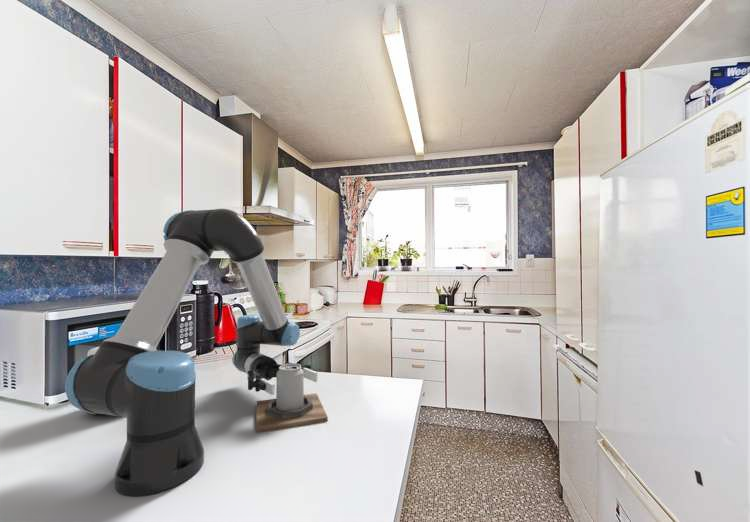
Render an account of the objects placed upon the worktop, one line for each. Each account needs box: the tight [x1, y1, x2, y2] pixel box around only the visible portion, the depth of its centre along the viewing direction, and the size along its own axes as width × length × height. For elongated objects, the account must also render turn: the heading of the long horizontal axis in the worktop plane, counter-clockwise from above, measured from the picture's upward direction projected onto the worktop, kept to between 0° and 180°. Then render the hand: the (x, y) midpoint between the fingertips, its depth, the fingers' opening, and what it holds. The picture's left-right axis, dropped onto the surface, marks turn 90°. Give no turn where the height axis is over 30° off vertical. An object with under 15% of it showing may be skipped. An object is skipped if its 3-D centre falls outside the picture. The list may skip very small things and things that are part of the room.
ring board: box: [255, 392, 329, 433], centre depth 94 cm, size 18×18×2 cm
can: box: [275, 363, 305, 412], centre depth 94 cm, size 8×8×12 cm
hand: (295, 383), depth 92 cm, fingers open, 13 cm apart
